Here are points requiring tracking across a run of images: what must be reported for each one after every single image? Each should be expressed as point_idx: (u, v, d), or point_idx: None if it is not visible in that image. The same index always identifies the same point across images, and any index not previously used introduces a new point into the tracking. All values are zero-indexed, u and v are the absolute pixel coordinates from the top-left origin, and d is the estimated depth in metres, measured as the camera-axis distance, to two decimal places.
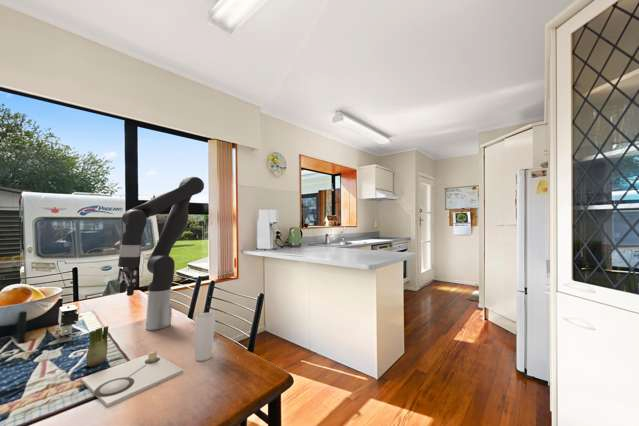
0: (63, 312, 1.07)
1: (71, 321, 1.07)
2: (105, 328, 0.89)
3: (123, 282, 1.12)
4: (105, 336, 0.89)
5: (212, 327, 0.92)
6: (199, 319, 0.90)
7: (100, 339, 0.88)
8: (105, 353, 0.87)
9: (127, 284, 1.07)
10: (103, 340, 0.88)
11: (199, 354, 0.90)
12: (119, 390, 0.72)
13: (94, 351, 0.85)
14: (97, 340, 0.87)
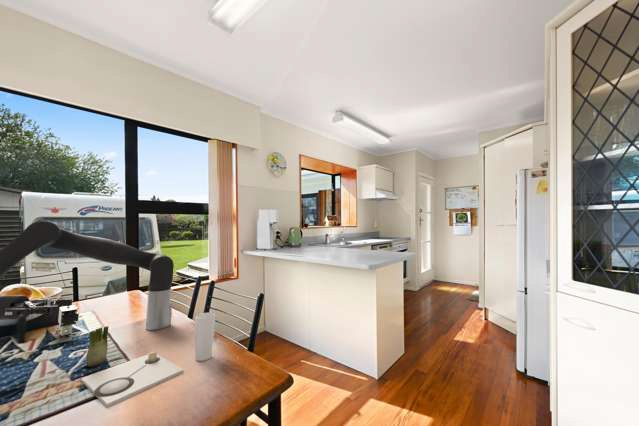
0: (63, 312, 1.07)
1: (71, 321, 1.07)
2: (105, 328, 0.89)
3: (56, 302, 0.89)
4: (105, 336, 0.89)
5: (212, 327, 0.92)
6: (199, 319, 0.90)
7: (100, 339, 0.88)
8: (105, 353, 0.87)
9: None
10: (103, 340, 0.88)
11: (199, 354, 0.90)
12: (119, 390, 0.72)
13: (94, 351, 0.85)
14: (97, 340, 0.87)
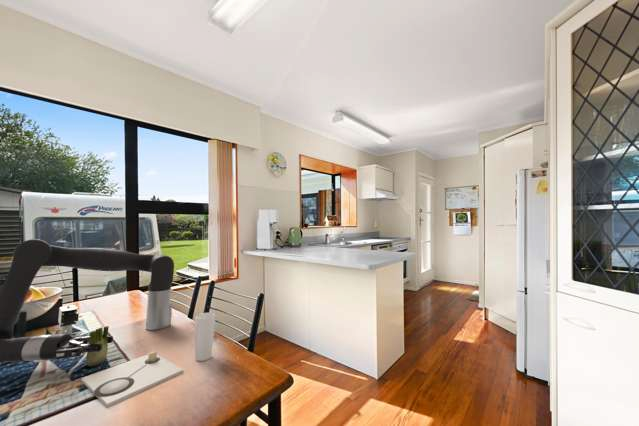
0: (63, 312, 1.07)
1: (71, 321, 1.07)
2: (105, 328, 0.89)
3: None
4: (105, 336, 0.89)
5: (212, 327, 0.92)
6: (199, 319, 0.90)
7: (100, 339, 0.87)
8: (105, 353, 0.87)
9: None
10: (103, 340, 0.88)
11: (199, 354, 0.90)
12: (119, 390, 0.72)
13: None
14: (97, 340, 0.86)
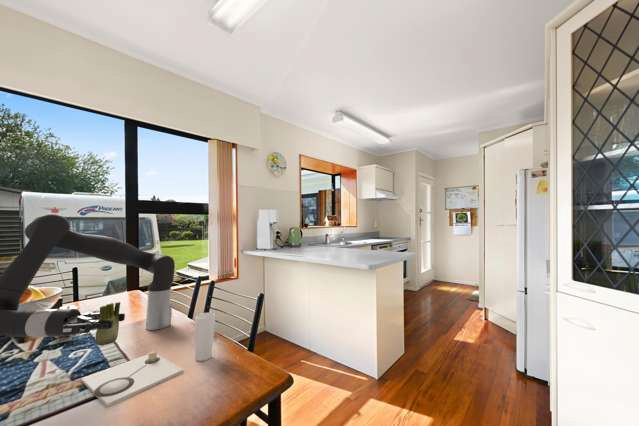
0: None
1: None
2: (117, 304, 0.80)
3: None
4: (116, 313, 0.80)
5: (212, 327, 0.92)
6: (199, 319, 0.90)
7: (111, 316, 0.79)
8: (116, 332, 0.78)
9: None
10: (114, 318, 0.79)
11: (199, 354, 0.90)
12: (119, 390, 0.72)
13: None
14: (108, 317, 0.78)
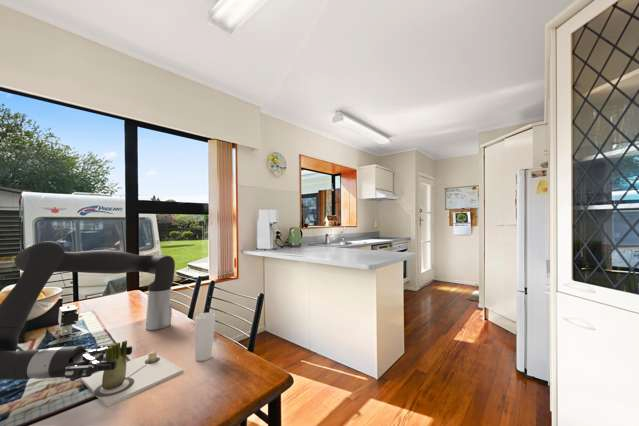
0: (63, 312, 1.07)
1: (71, 321, 1.07)
2: (123, 343, 0.76)
3: None
4: (123, 353, 0.76)
5: (212, 327, 0.92)
6: (199, 319, 0.90)
7: (118, 356, 0.74)
8: (123, 374, 0.74)
9: None
10: (121, 358, 0.75)
11: (199, 354, 0.90)
12: (119, 390, 0.72)
13: (111, 371, 0.72)
14: (114, 358, 0.73)
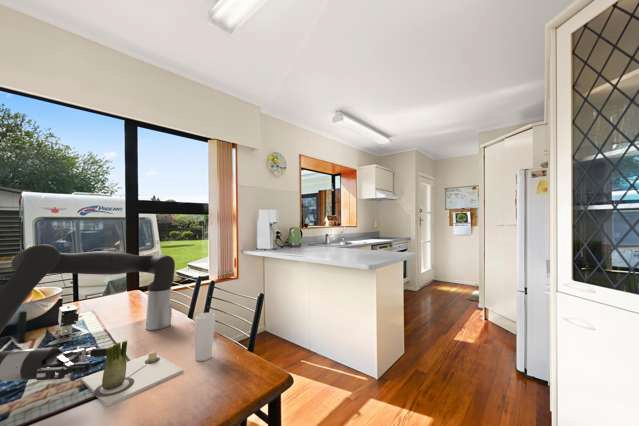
0: (63, 312, 1.07)
1: (71, 321, 1.07)
2: (124, 343, 0.76)
3: (91, 353, 0.76)
4: (123, 353, 0.76)
5: (212, 327, 0.92)
6: (199, 319, 0.90)
7: (118, 356, 0.74)
8: (123, 374, 0.74)
9: None
10: (121, 358, 0.75)
11: (199, 354, 0.90)
12: (119, 390, 0.72)
13: (111, 371, 0.72)
14: (115, 358, 0.73)
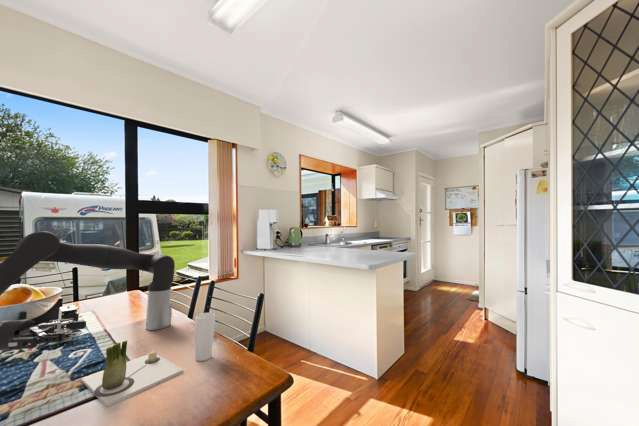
0: (63, 312, 1.07)
1: None
2: (124, 343, 0.76)
3: (67, 325, 0.77)
4: (123, 353, 0.76)
5: (212, 327, 0.92)
6: (199, 319, 0.90)
7: (118, 356, 0.74)
8: (123, 374, 0.74)
9: None
10: (121, 358, 0.75)
11: (199, 354, 0.90)
12: (119, 390, 0.72)
13: (111, 371, 0.72)
14: (115, 358, 0.73)
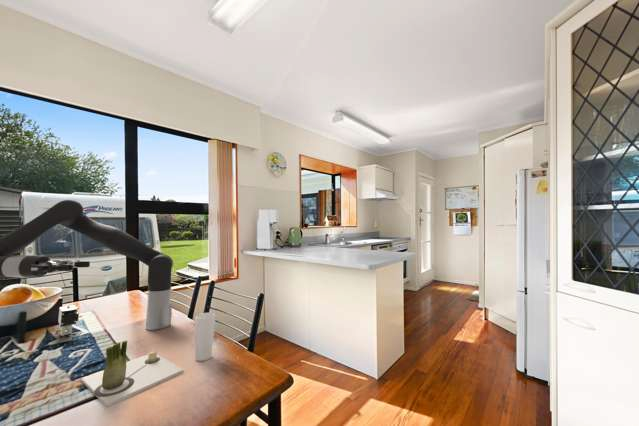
0: (63, 312, 1.07)
1: (71, 321, 1.07)
2: (123, 343, 0.76)
3: (75, 264, 0.96)
4: (123, 353, 0.76)
5: (212, 327, 0.92)
6: (199, 319, 0.90)
7: (118, 356, 0.74)
8: (123, 374, 0.74)
9: (57, 271, 0.89)
10: (121, 358, 0.75)
11: (199, 354, 0.90)
12: (119, 390, 0.72)
13: (111, 371, 0.72)
14: (115, 358, 0.73)
